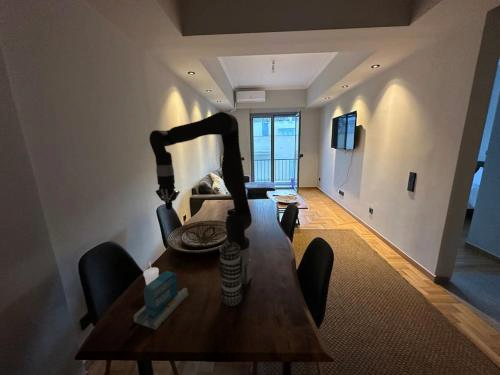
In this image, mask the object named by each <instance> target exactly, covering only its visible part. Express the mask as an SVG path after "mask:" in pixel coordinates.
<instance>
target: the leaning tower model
mask: <svg viewBox="0 0 500 375" xmlns="http://www.w3.org/2000/svg"><path fill="white" fill-rule="evenodd" d="M219 253H220V257H219V259H220V261H219V262H218V263H219V264H218V266H219V274H220V275H219V276H220V279H221V287H220V289H221V291H220V292H221V294H220V295H221V301H222V303H223V304H225V305H226V306H230V307H232V306H236V305H239V304H240V303H241V301H242V299H243V298H244V297H243V295H244V294H243V285H242V284H241V276H242V273H241V272H242V256H240V246H239V245H237V244H236V243H234V242H228V241H227V242H225V243H223V244H222V245H221V246H220V247H219ZM240 258H241V259H240ZM240 261H241V262H240Z"/></svg>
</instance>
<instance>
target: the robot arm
mask: <svg viewBox="0 0 500 375" xmlns="http://www.w3.org/2000/svg"><path fill="white" fill-rule="evenodd" d="M239 134H240V130H239V122H238V120H237V118H236V116H235V115H234V114H231V113H230V112H227V111H219V112H216V113H215V114H212V115H210V116H208V117H205V118H202V119H200V120H197V121H194V122H190V123H186V124H181V125H177V126H173V127H171V128H170V129H168V130H167V129H166V130H159V129H155V130H152V131H151V132H150V135H149V144H150V147H151V149H152V152H153V154H154V157H155V165H156V169H155V170H156V179H157V186H158V189H157V190H155V194H156V195H157V196H158V197H159V199H160V200H161V201H162V202H164V203H165V204H164V205H165V208H166V210H168V211H170V210H172V209H173V202H174V201H176V199H177V198H178V196H179V194H180V193H181V192H180V191H179V190H177V189H176V186H175V182H176V181H175V172H174V165H173V157H172V153H171V152H170V151H167V149H166V147H170V146H174V145H176V144H180V143H185V142H189V141H193V140H196V139H198V138H200V137H204V136H213V135H214V136H215V135H217V136H218V135H220V136H221V140H222V145H223V152H222V153H223V154H222V160H221V175H222V181H223V185H224V186H225V188H226V191H227V192H228V193H229V195H230V197H231V199H232V203H233V208H234V209H235V212H234V213H232V214H231V215H228V216H227V217H226V220H225V232H226V240H227V242H234V243H236V244H237V245H239V246H240V256H242V272H241V273H242V276H241V284H242V286H243V285H246V286H247V285H248V284H249V282H250V281H251V279H252V277H253V276H252V273H253V272H252V271H253V270H252V258H251V257H250V256H251V254H250V239H249V237H247V236H245V235H246V234H245V233H246V232H245V231H246V230H247V229H249V228H250V227H251V225H252V221H253V218H252V214H251V208H250V206H249V201H248V194H247V189H246V188H247V187H246V181H245V172H244V166H243V160H242V152H241V150H240V149H241V148H240V138H239V137H240V135H239ZM240 259H241V258H240ZM240 262H241V261H240Z"/></svg>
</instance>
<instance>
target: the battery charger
mask: <svg viewBox="0 0 500 375" xmlns="http://www.w3.org/2000/svg"><path fill="white" fill-rule="evenodd" d="M226 212H227V215H228V216H229V215H231V214H232V213H234V212H235V209H234V207H233V208H230V209H228V210H227V211H226Z"/></svg>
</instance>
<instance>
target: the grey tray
mask: <svg viewBox="0 0 500 375" xmlns="http://www.w3.org/2000/svg"><path fill="white" fill-rule="evenodd" d="M188 296H189V293H188V288H186V287H183V288H182V289H181V290H180V291H179V290H178V295H177V296H176V297H175V298H174V299H173V300H171V301H170V302H169V303H168V304H167V305H166V307H165V308H164V309H163V310H162V311H161V312H160V313H159V314H158V315H157V316H156V317H154V316H151V315H149V314H147V312H146V305H145V304H144V305H143V306H142V307H141V308H140V309H139V310H138V311H137V312H136V313H135V314H134V315H133V320H134V321H133V322H134V323H136V324H137V325H142V326H143V327H146V328H149V329H152V330H155V331H156V330H157V329H158V328H159V327H160V326H161V325H162V324H163V323H164V322H165V320H166V319H167V318H168V317H169V316H170V315H171V314H172V313H173V312H174V311H175V310H176V308H178V306H180V304H181V303H182V302H183V301H184V300H185V299H186V298H187V297H188ZM162 322H163V323H162ZM161 323H162V324H161Z"/></svg>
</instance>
